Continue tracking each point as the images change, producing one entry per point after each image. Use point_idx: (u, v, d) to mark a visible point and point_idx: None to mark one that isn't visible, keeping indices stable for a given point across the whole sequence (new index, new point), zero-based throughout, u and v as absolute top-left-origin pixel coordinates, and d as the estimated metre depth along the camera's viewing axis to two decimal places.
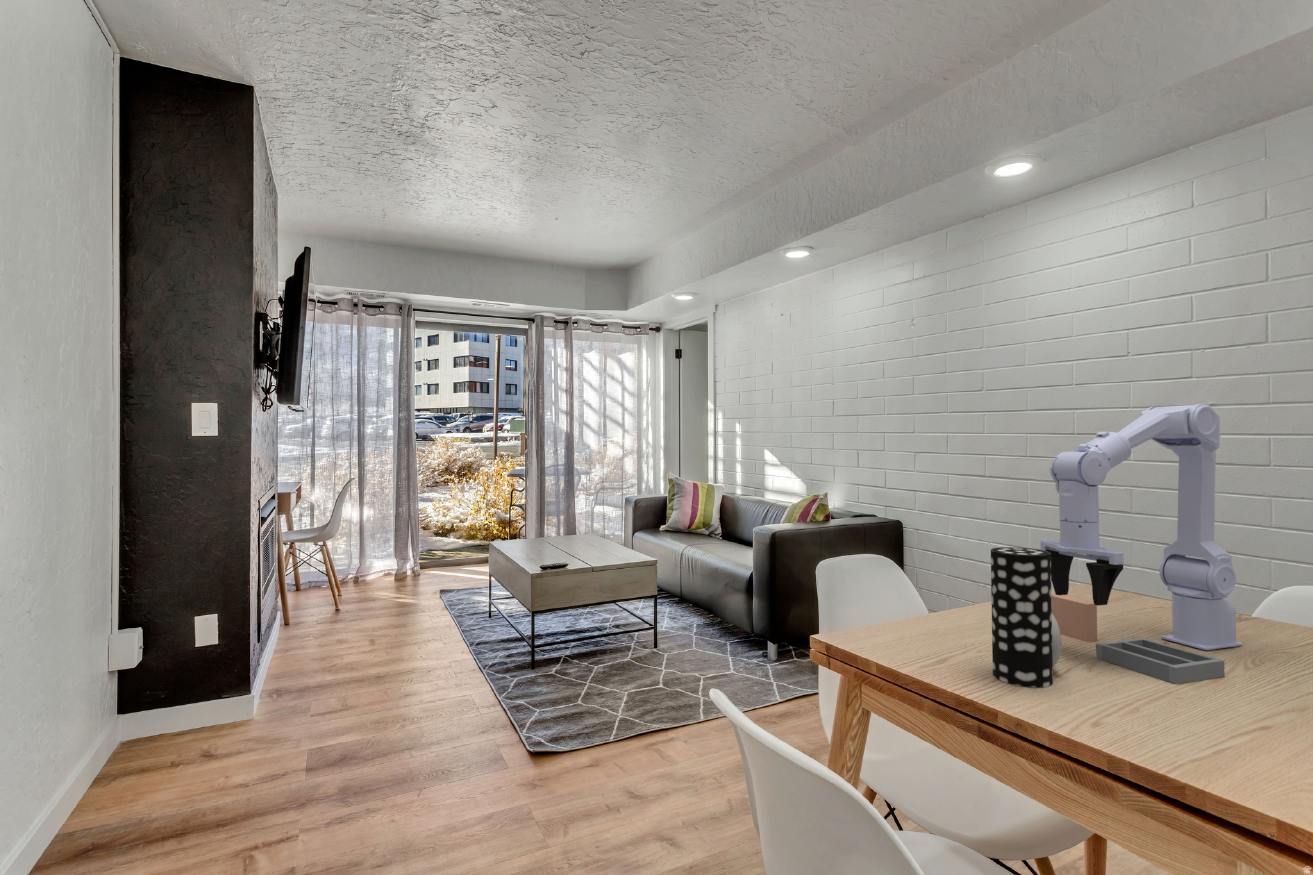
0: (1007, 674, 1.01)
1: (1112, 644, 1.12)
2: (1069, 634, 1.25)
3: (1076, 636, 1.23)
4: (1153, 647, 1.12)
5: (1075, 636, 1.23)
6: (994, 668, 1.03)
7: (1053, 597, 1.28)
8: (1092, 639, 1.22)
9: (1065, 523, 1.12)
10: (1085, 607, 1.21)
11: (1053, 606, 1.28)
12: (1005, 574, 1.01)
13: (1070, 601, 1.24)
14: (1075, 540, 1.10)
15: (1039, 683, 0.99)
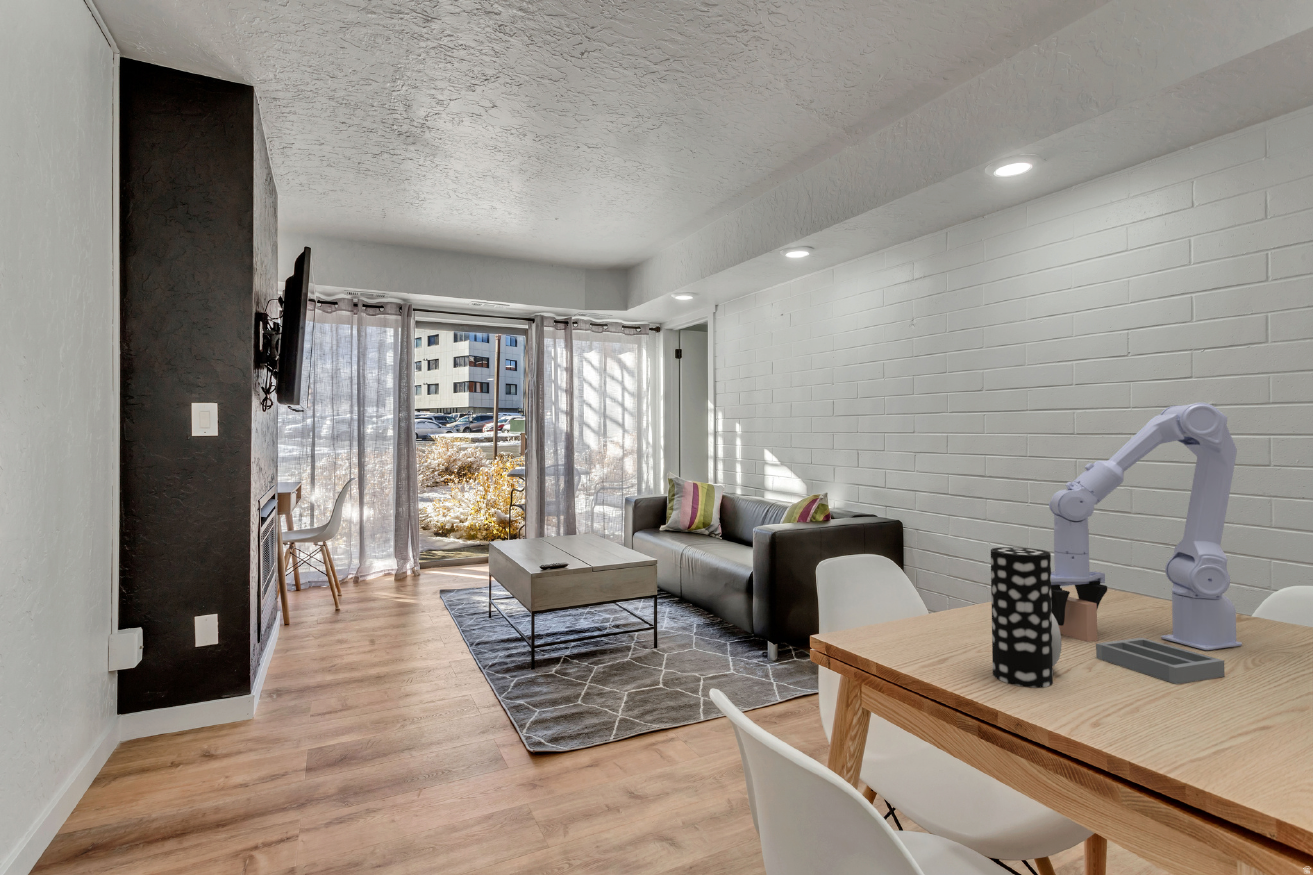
0: (1007, 674, 1.01)
1: (1112, 644, 1.12)
2: (1069, 634, 1.25)
3: (1076, 636, 1.23)
4: (1153, 647, 1.12)
5: (1075, 636, 1.23)
6: (994, 668, 1.03)
7: None
8: (1092, 639, 1.22)
9: None
10: (1085, 607, 1.21)
11: None
12: (1004, 574, 1.01)
13: (1070, 601, 1.24)
14: None
15: (1039, 683, 0.99)
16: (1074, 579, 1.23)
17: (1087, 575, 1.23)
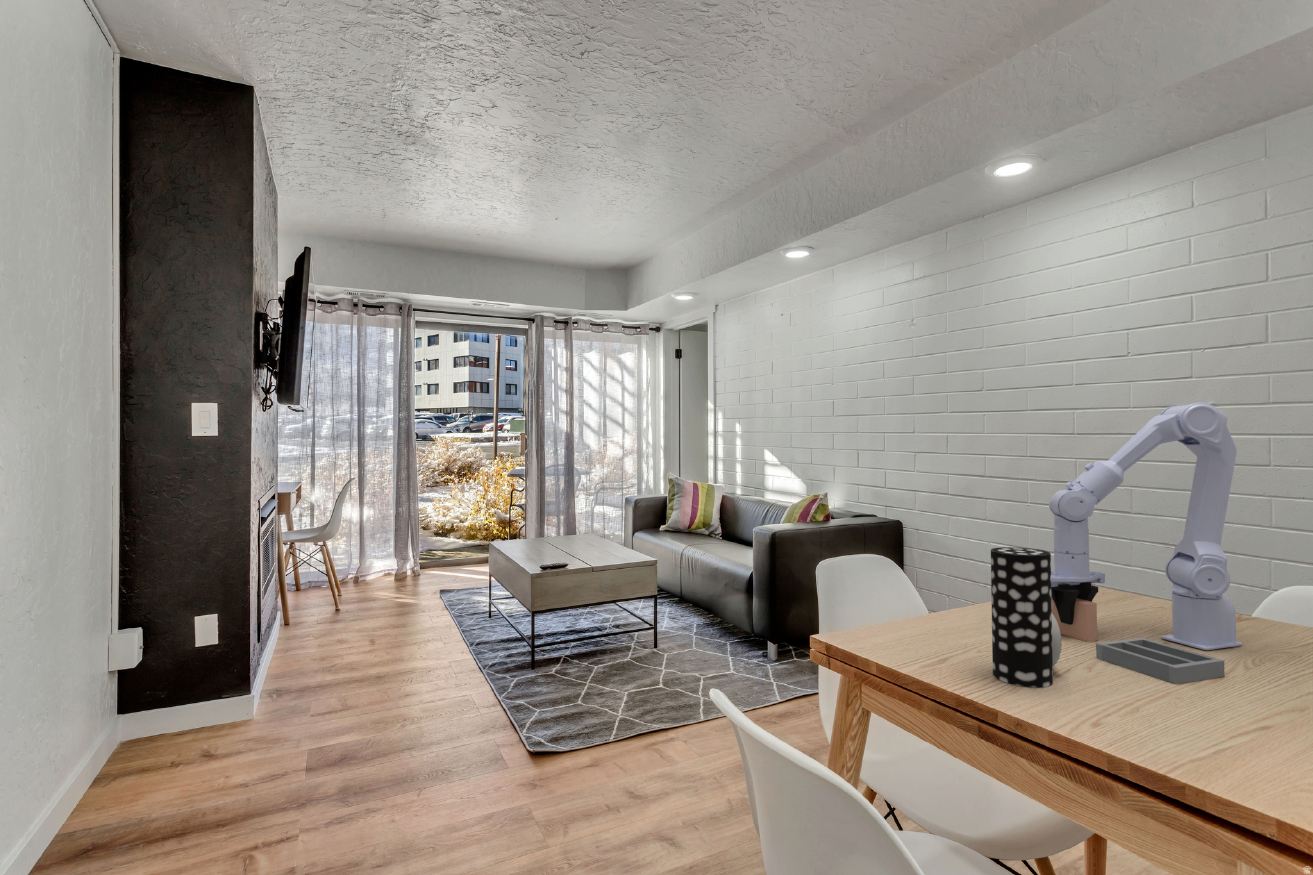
0: (1007, 674, 1.01)
1: (1112, 644, 1.12)
2: (1069, 634, 1.25)
3: (1076, 636, 1.23)
4: (1153, 647, 1.12)
5: (1075, 636, 1.23)
6: (994, 668, 1.03)
7: None
8: (1092, 639, 1.22)
9: None
10: (1085, 607, 1.21)
11: (1053, 606, 1.28)
12: (1005, 574, 1.01)
13: None
14: None
15: (1039, 683, 0.99)
16: (1074, 579, 1.23)
17: (1087, 575, 1.23)
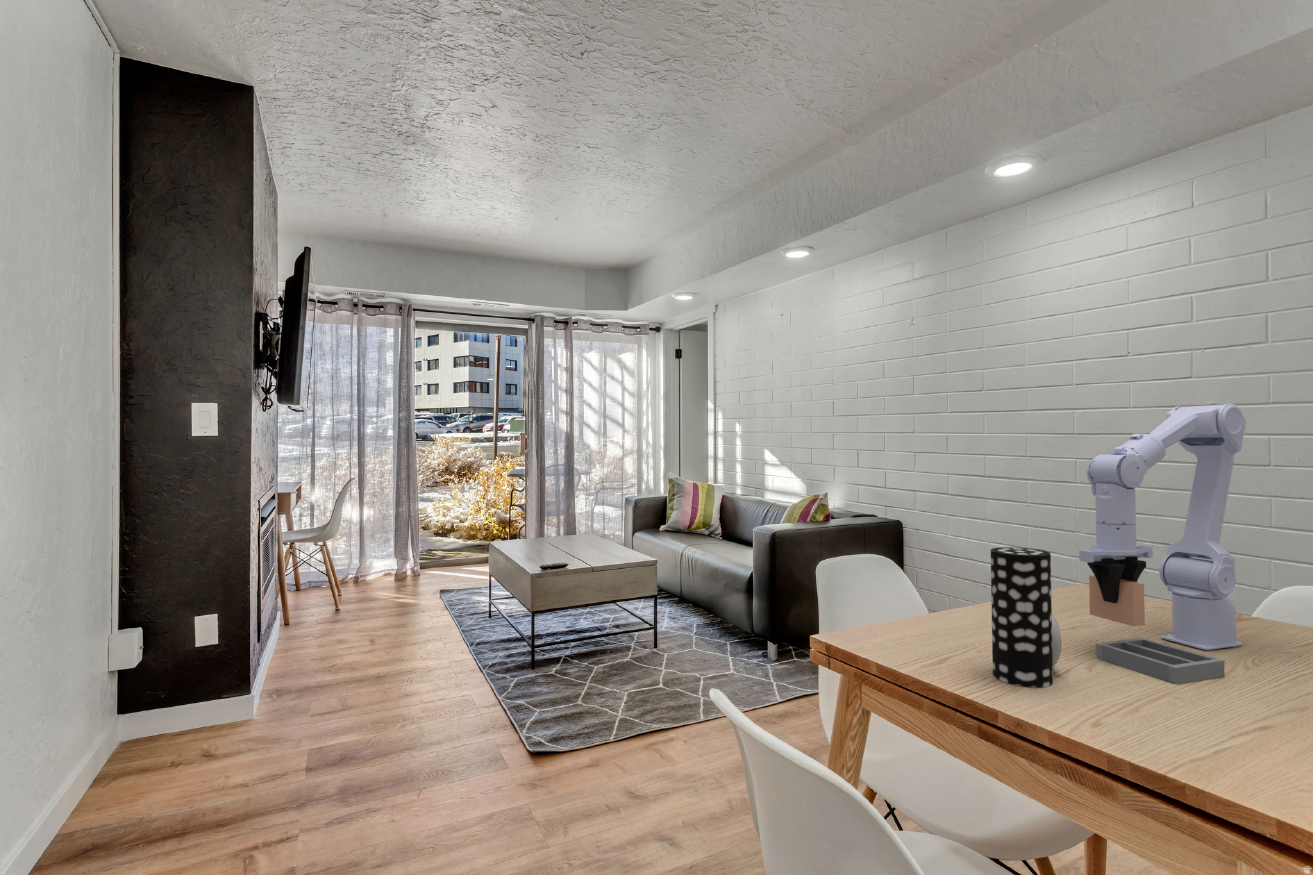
0: (1007, 674, 1.01)
1: (1112, 644, 1.12)
2: (1112, 618, 1.13)
3: (1120, 620, 1.11)
4: (1153, 647, 1.12)
5: (1119, 620, 1.11)
6: (994, 668, 1.03)
7: (1094, 577, 1.16)
8: (1139, 623, 1.09)
9: None
10: (1131, 587, 1.09)
11: (1094, 587, 1.16)
12: (1004, 574, 1.01)
13: None
14: None
15: (1039, 683, 0.99)
16: (1119, 552, 1.10)
17: (1134, 548, 1.11)
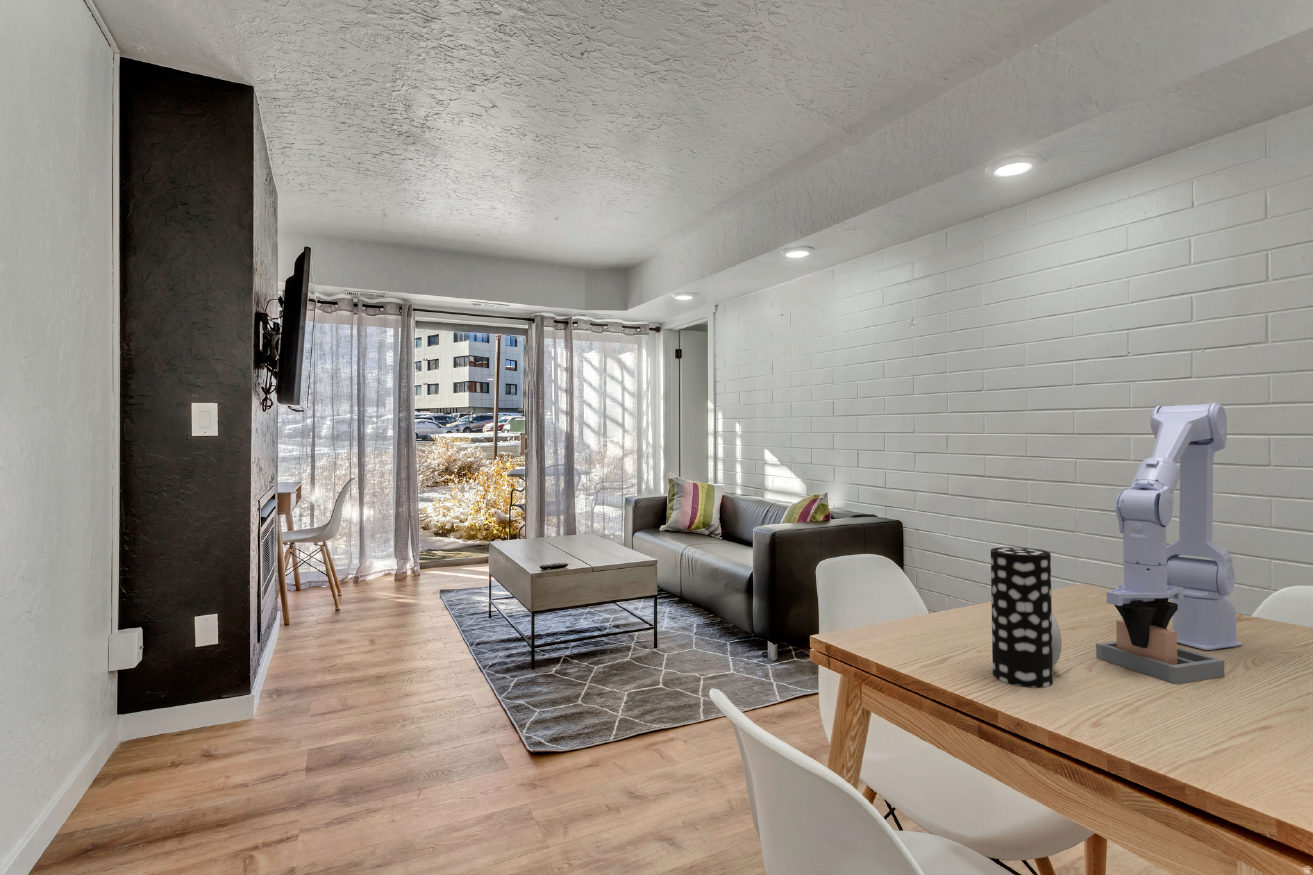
0: (1007, 674, 1.01)
1: (1112, 644, 1.12)
2: None
3: None
4: None
5: None
6: (994, 668, 1.03)
7: (1121, 623, 1.09)
8: None
9: (1128, 561, 1.09)
10: (1163, 636, 1.03)
11: (1121, 633, 1.09)
12: (1004, 574, 1.01)
13: None
14: None
15: (1039, 683, 0.99)
16: (1150, 595, 1.04)
17: (1165, 590, 1.04)
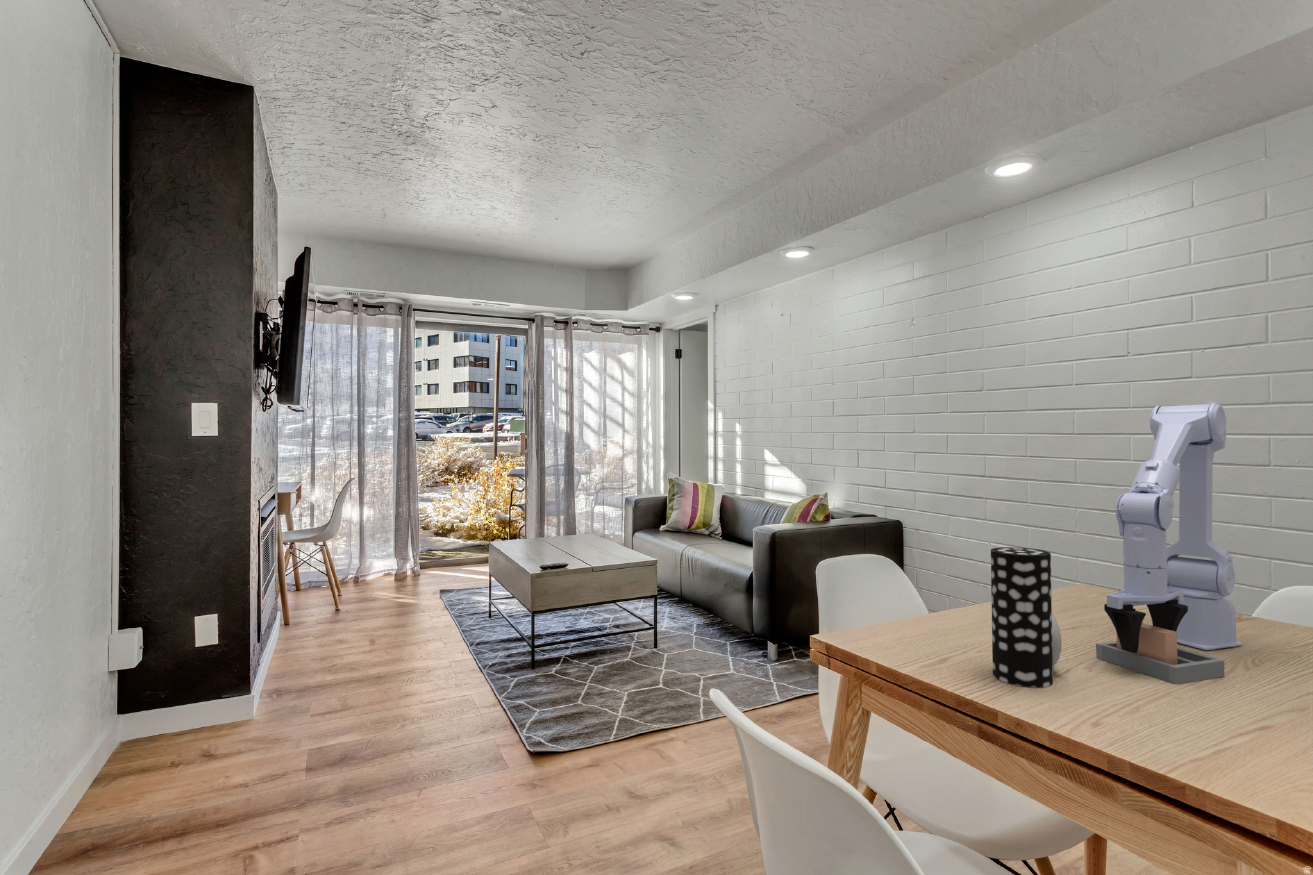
0: (1007, 674, 1.01)
1: (1112, 644, 1.12)
2: None
3: None
4: None
5: None
6: (994, 668, 1.03)
7: None
8: None
9: (1128, 564, 1.09)
10: (1164, 636, 1.03)
11: None
12: (1005, 574, 1.01)
13: (1144, 628, 1.06)
14: (1124, 582, 1.09)
15: (1039, 683, 0.99)
16: (1150, 598, 1.04)
17: (1165, 593, 1.04)
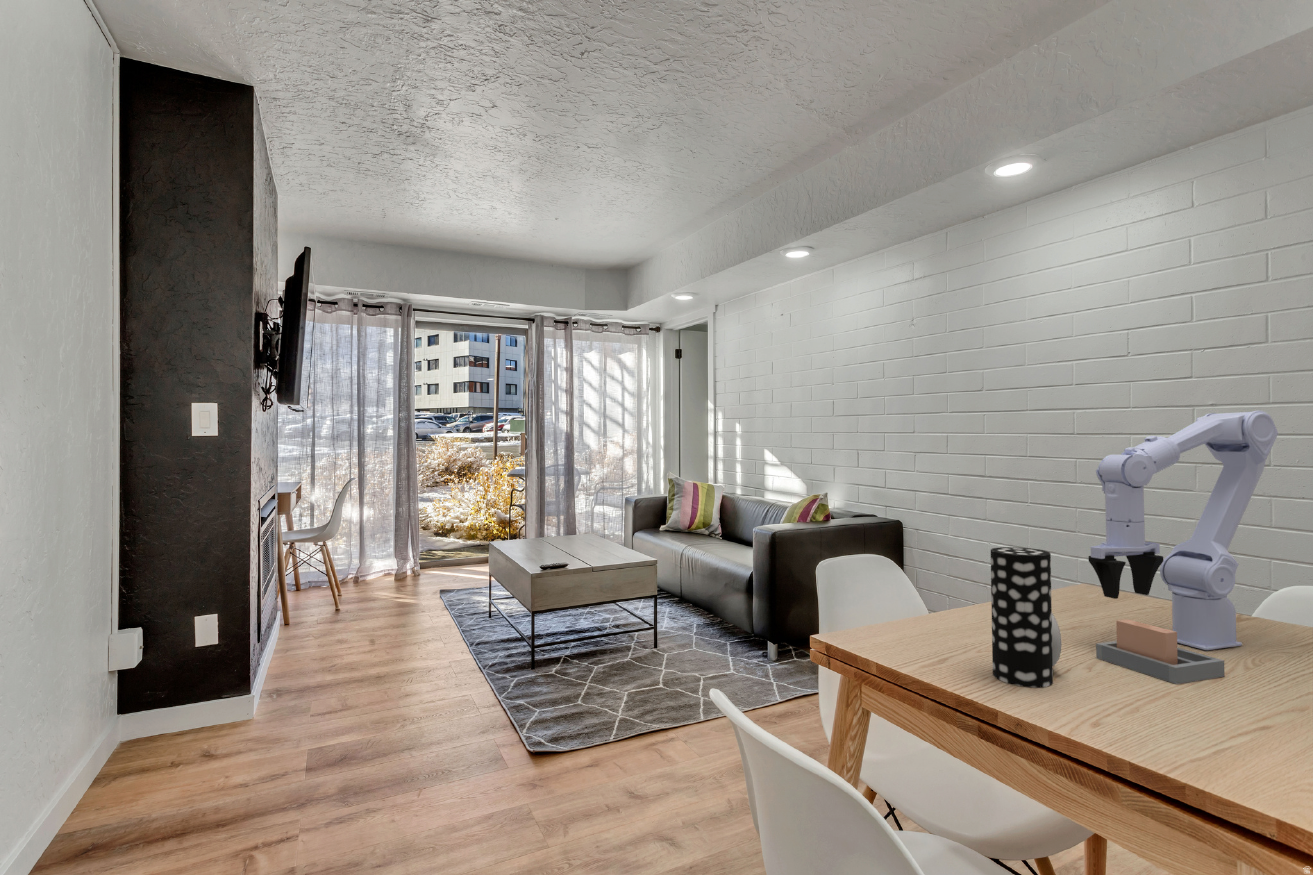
0: (1007, 674, 1.01)
1: (1112, 644, 1.12)
2: None
3: None
4: None
5: None
6: (994, 668, 1.03)
7: (1121, 623, 1.09)
8: None
9: (1110, 520, 1.20)
10: (1164, 636, 1.03)
11: (1121, 633, 1.09)
12: (1004, 574, 1.01)
13: (1144, 628, 1.06)
14: (1106, 536, 1.20)
15: (1039, 683, 0.99)
16: (1129, 549, 1.15)
17: (1143, 544, 1.15)
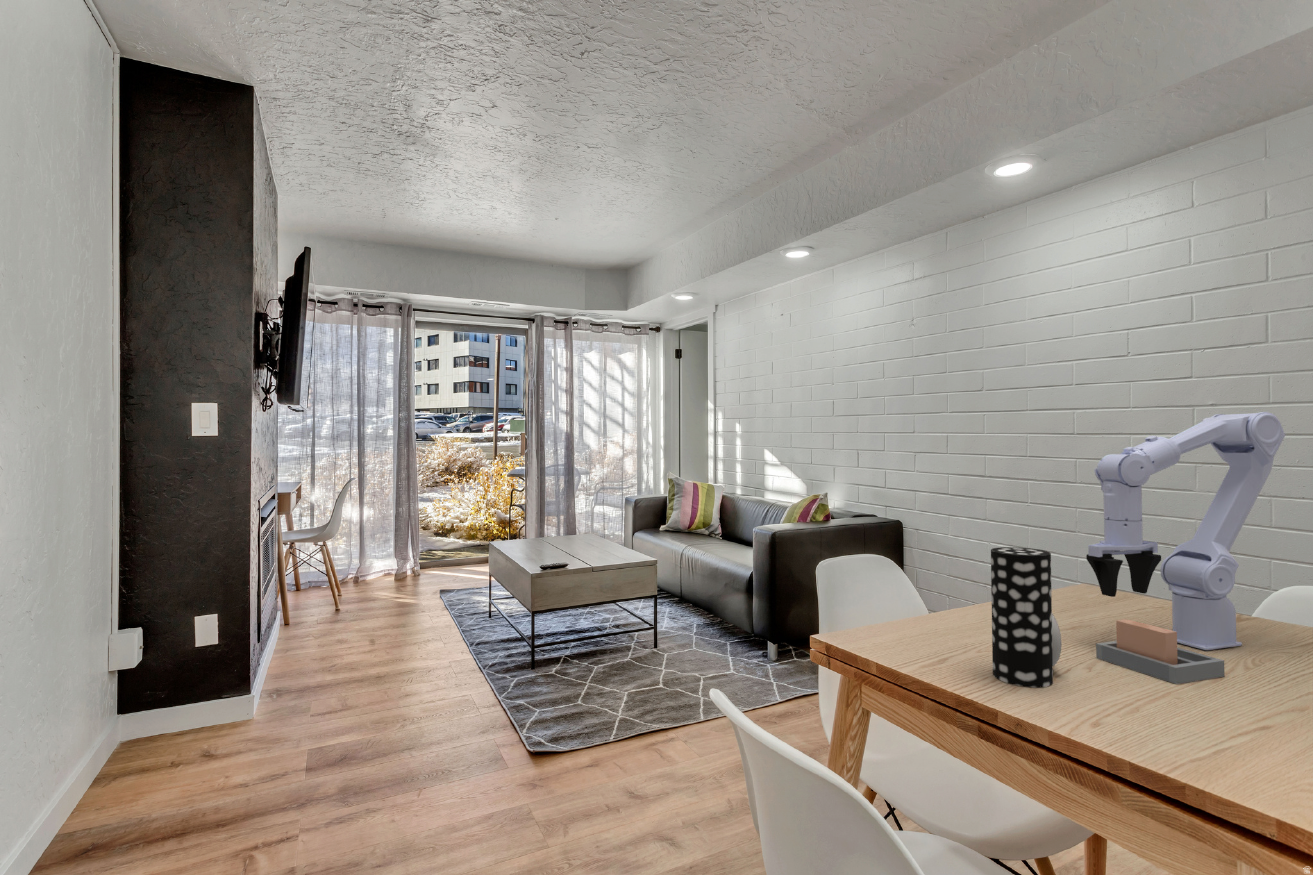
0: (1007, 674, 1.01)
1: (1112, 644, 1.12)
2: None
3: None
4: None
5: None
6: (994, 668, 1.03)
7: (1121, 623, 1.09)
8: None
9: (1108, 519, 1.22)
10: (1164, 636, 1.03)
11: (1121, 633, 1.09)
12: (1005, 574, 1.01)
13: (1144, 628, 1.06)
14: None
15: (1039, 683, 0.99)
16: (1127, 547, 1.16)
17: (1140, 543, 1.16)
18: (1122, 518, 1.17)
